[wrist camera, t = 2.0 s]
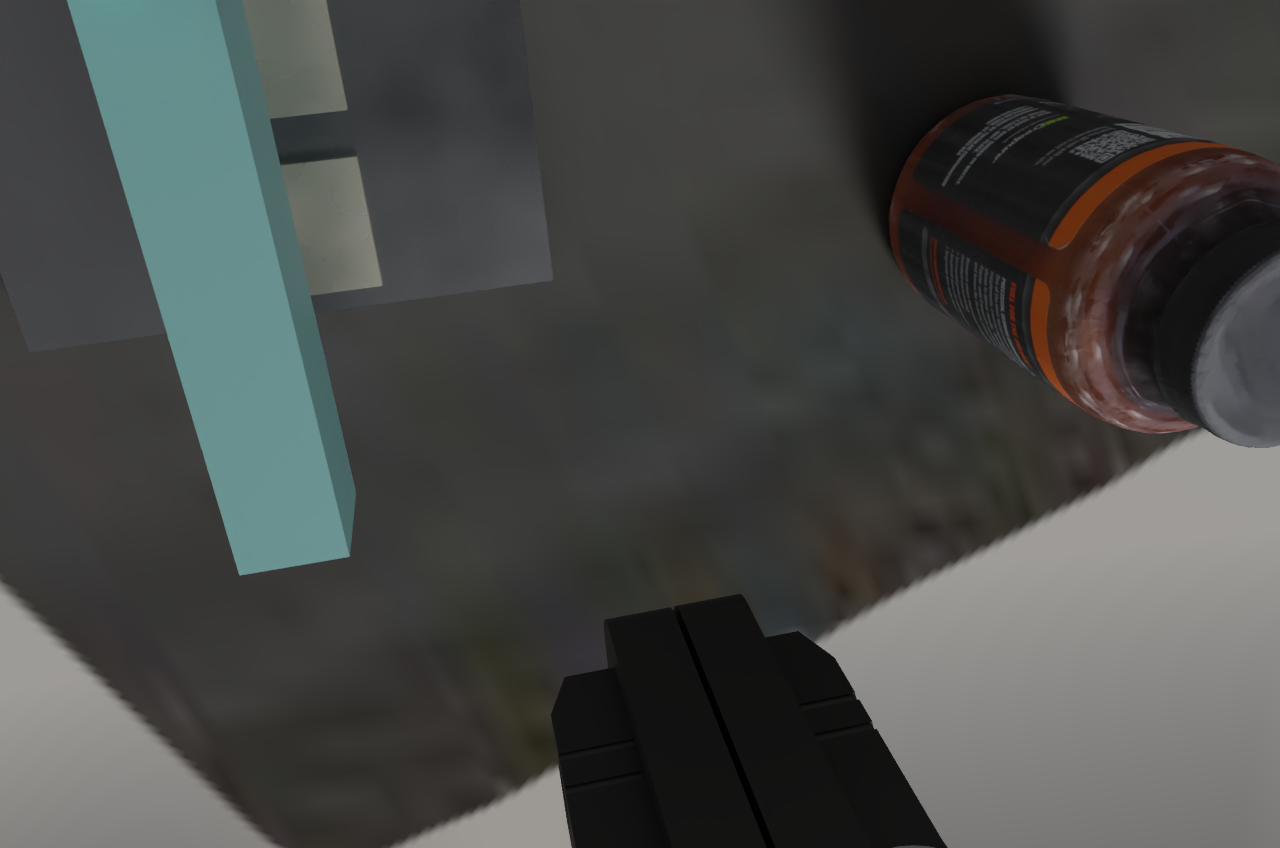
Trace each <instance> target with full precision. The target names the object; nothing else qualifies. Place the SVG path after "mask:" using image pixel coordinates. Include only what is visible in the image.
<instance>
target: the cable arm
mask: <svg viewBox="0 0 1280 848" xmlns="http://www.w3.org/2000/svg"><path fill="white" fill-rule="evenodd" d="M67 2H68V6H69V9H70V12H71V16H72V19H73V22H74V26H75V29H76V32H77V36H78V39H79V42H80V46H81V49H82V52H83V56H84V59H85V62H86V66H87V69H88V72H89V76H90V79H91V82H92V86H93V89H94V92H95V96H96V99H97V102H98V106H99V109H100V112H101V116H102V119H103V122H104V126H105V129H106V132H107V136H108V139H109V142H110V146H111V149H112V152H113V156H114V159H115V162H116V166H117V169H118V172H119V176H120V179H121V182H122V186H123V189H124V192H125V196H126V199H127V202H128V206H129V209H130V212H131V216H132V219H133V222H134V226H135V229H136V232H137V235H138V239H139V242H140V245H141V249H142V252H143V255H144V259H145V262H146V265H147V269H148V272H149V275H150V279H151V282H152V285H153V289H154V292H155V295H156V299H157V302H158V305H159V309H160V312H161V315H162V319H163V322H164V325H165V329H166V332H167V335H168V339H169V342H170V345H171V349H172V352H173V355H174V359H175V362H176V365H177V369H178V372H179V375H180V379H181V382H182V385H183V389H184V392H185V395H186V399H187V402H188V405H189V409H190V412H191V415H192V419H193V422H194V425H195V429H196V432H197V435H198V439H199V442H200V445H201V449H202V452H203V455H204V459H205V462H206V465H207V469H208V472H209V475H210V479H211V482H212V485H213V489H214V492H215V495H216V499H217V502H218V505H219V509H220V512H221V515H222V519H223V522H224V525H225V529H226V532H227V535H228V539H229V542H230V545H231V549H232V552H233V555H234V559H235V562H236V565H237V569H238V572H239V575H245V574H251V573H257V572H263V571H268V570H274V569H280V568H286V567H292V566H298V565H304V564H310V563H315V562H321V561H327V560H333V559H339V558H345V557H350V548H351V538H352V528H353V517H354V507H355V497H356V491H355V486H354V482H353V478H352V473H351V469H350V465H349V460H348V456H347V452H346V447H345V443H344V439H343V434H342V430H341V426H340V421H339V417H338V413H337V408H336V404H335V400H334V395H333V391H332V387H331V382H330V378H329V374H328V369H327V365H326V361H325V356H324V352H323V348H322V343H321V339H320V335H319V330H318V326H317V322H316V317H315V313H314V309H313V304H312V300H311V296H310V291H309V287H308V283H307V278H306V274H305V270H304V265H303V261H302V257H301V252H300V248H299V244H298V239H297V235H296V231H295V226H294V222H293V218H292V213H291V209H290V205H289V200H288V196H287V192H286V187H285V183H284V179H283V174H282V170H281V166H280V161H279V157H278V153H277V148H276V144H275V140H274V135H273V131H272V127H271V122H270V118H269V114H268V109H267V105H266V101H265V96H264V92H263V88H262V83H261V79H260V75H259V70H258V66H257V62H256V57H255V53H254V49H253V45H252V40H251V36H250V32H249V27H248V23H247V19H246V14H245V10H244V6H243V1H242V0H67Z"/></svg>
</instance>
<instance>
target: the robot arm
mask: <svg viewBox="0 0 1280 848" xmlns="http://www.w3.org/2000/svg"><path fill="white" fill-rule="evenodd" d="M604 635H605V644H606V652H607V661H608V669H604V670H599V671H594V672H588V673H583V674H578V675H573V676H568V677H565V678H564V681H563V683H562V686H561V689H560V691H559V694H558V697H557V700H556V702H555V705H554V708H553V711H552V713H551V718H552V725H553V731H554V738H555V744H556V751H557V758H558V764H559V771H560V778H561V784H562V791H563V797H564V803H565V811H566V817H567V824H568V829H569V834H570V840H571V845H572V848H947V846H946V845H945V843H944V842H943V841H942V839H941V838H940V836H939V834H938V832H937V831H936V829H935V827H934V825H933V824H932V822H931V820H930V819H929V817H928V816H927V814H926V812H925V810H924V808H923V807H922V805H921V804H920V802H919V800H918V799H917V797H916V795H915V793H914V792H913V790H912V788H911V787H910V785H909V783H908V781H907V780H906V778H905V776H904V775H903V773H902V771H901V770H900V768H899V766H898V765H897V763H896V761H895V759H894V758H893V756H892V754H891V753H890V751H889V749H888V747H887V746H886V744H885V742H884V741H883V739H882V737H881V736H880V734H879V732H878V731H877V729H875V730H874V728H873V725H872V720H871V719H870V717H869V715H868V714H867V712H866V710H865V709H864V707H863V705H862V704H861V702H860V700H857V699H856V696H855V692H854V690H853V688H852V686H851V685H850V683H849V681H848V680H847V678H846V676H845V675H844V673H843V672H842V670H841V668H840V666H839V665H838V663H837V661H836V659H835V658H834V657H833V656H831V655H830V654H829V653H827V652H826V651H825V650H823V649H822V648H821V647H819V646H818V645H816V644H815V643H814V642H812V641H811V640H810V639H808V638H807V637H805V636H804V635H803V634H801V633H800V632H799V631H797V632H792V633H787V634H781V635H776V636H771V637H766V638H765V637H764V635H763V633H762V631H761V629H760V627H759V625H758V623H757V621H756V619H755V617H754V615H753V613H752V611H751V609H750V607H749V605H748V603H747V602H746V600H745V598H744V597H743V596H742V595H741V594H737V595H732V596H726V597H721V598H716V599H710V600H705V601H700V602H694V603H689V604H684V605H678V606H675V607H674V610H672V609H671V608H664V609H659V610H653V611H648V612H643V613H637V614H632V615H627V616H622V617H616V618H611V619H606V620H604Z"/></svg>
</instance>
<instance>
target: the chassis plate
mask: <svg viewBox="0 0 1280 848" xmlns="http://www.w3.org/2000/svg"><path fill="white" fill-rule="evenodd" d="M242 1H243V6H244V10H245V14H246V19H247V23H248V27H249V32H250V36H251V40H252V45H253V49H254V53H255V57H256V62H257V66H258V70H259V75H260V79H261V83H262V88H263V92H264V96H265V101H266V105H267V109H268V114H269V118H270V122H271V127H272V131H273V135H274V140H275V144H276V148H277V153H278V157H279V161H280V166H281V170H282V174H283V179H284V183H285V187H286V192H287V196H288V200H289V205H290V209H291V213H292V218H293V222H294V226H295V231H296V235H297V239H298V244H299V248H300V252H301V257H302V261H303V265H304V270H305V274H306V278H307V283H308V287H309V291H310V296H311V300H312V304H313V309H314V313H320V312H327V311H335V310H342V309H349V308H356V307H364V306H371V305H378V304H385V303H393V302H400V301H407V300H414V299H421V298H429V297H436V296H443V295H450V294H458V293H465V292H472V291H479V290H487V289H494V288H501V287H508V286H516V285H523V284H530V283H537V282H545V281H552V280H553V273H552V265H551V256H550V248H549V240H548V232H547V224H546V215H545V207H544V199H543V191H542V182H541V174H540V166H539V158H538V149H537V141H536V133H535V125H534V116H533V108H532V100H531V92H530V83H529V75H528V67H527V59H526V50H525V42H524V34H523V26H522V17H521V9H520V1H519V0H242ZM0 274H1V276H2V279H3V282H4V285H5V287H6V290H7V293H8V296H9V298H10V301H11V304H12V306H13V309H14V312H15V315H16V317H17V320H18V323H19V326H20V328H21V331H22V334H23V336H24V339H25V342H26V345H27V347H28V350H29V353H30V352H38V351H45V350H52V349H59V348H67V347H74V346H81V345H88V344H96V343H103V342H110V341H117V340H125V339H132V338H139V337H146V336H154V335H161V334H167V332H166V329H165V325H164V322H163V319H162V315H161V312H160V309H159V305H158V302H157V299H156V295H155V292H154V289H153V285H152V282H151V279H150V275H149V272H148V269H147V265H146V262H145V259H144V255H143V252H142V249H141V245H140V242H139V239H138V235H137V232H136V229H135V226H134V222H133V219H132V216H131V212H130V209H129V206H128V202H127V199H126V196H125V192H124V189H123V186H122V182H121V179H120V176H119V172H118V169H117V166H116V162H115V159H114V156H113V152H112V149H111V146H110V142H109V139H108V136H107V132H106V129H105V126H104V122H103V119H102V116H101V112H100V109H99V106H98V102H97V99H96V96H95V92H94V89H93V86H92V82H91V79H90V76H89V72H88V69H87V66H86V62H85V59H84V56H83V52H82V49H81V46H80V42H79V39H78V36H77V32H76V29H75V26H74V22H73V19H72V16H71V12H70V9H69V6H68V2H67V0H0Z"/></svg>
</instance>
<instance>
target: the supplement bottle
mask: <svg viewBox="0 0 1280 848" xmlns="http://www.w3.org/2000/svg"><path fill="white" fill-rule="evenodd" d="M889 234H890V241H891V246H892V250H893V254H894V257H895V260H896V263H897V265H898V267H899V269H900V271H901V272H902V274H903V276H904V278H905V279H906V281H907V282H908V284H909V285H910V286H911V287H912V288H913V289H914V290H915V291H916V292H917V293H918V294H919V295H921V296H922V297H923V298H924V299H925V300H926V301H927V302H928V303H930V304H931V305H932V306H933V307H935V308H936V309H938V310H939V311H941V312H943V313H944V314H945V315H947V316H948V317H950V318H951V319H953V320H954V321H955V322H956V323H958V324H960V325H961V326H963V327H964V328H966V329H967V330H969V331H970V332H971V333H973V334H974V335H976V336H977V337H979V338H980V339H981V340H983V341H985V342H986V343H987V344H989V345H990V346H991V347H993V348H994V349H996V350H997V351H999V352H1000V353H1002V354H1003V355H1004V356H1005V357H1007V358H1008V359H1010V360H1011V361H1013V362H1014V363H1016V364H1017V365H1019V366H1021V367H1022V368H1024V369H1025V370H1026V371H1028V372H1029V373H1030V374H1032V375H1033V376H1034V377H1035V378H1037V379H1039V380H1041V381H1042V382H1043V383H1045V384H1047V385H1048V386H1049V387H1050V388H1051V389H1052V390H1053V391H1055V392H1057V393H1059V394H1060V395H1062V396H1063V397H1065V398H1066V399H1068V400H1069V401H1071V402H1073V403H1075V404H1076V405H1077V406H1079V407H1080V408H1082V409H1083V410H1085V411H1086V412H1088V413H1090V414H1092V415H1093V416H1095V417H1097V418H1099V419H1100V420H1103V421H1105V422H1107V423H1109V424H1112V425H1115V426H1118V427H1121V428H1124V429H1128V430H1133V431H1140V432H1144V433H1169V432H1177V431H1182V430H1187V429H1192V428H1195V427H1198V426H1200V427H1202V428H1204V429H1206V430H1208V431H1209V432H1211V433H1212V434H1213V435H1215V436H1217V437H1219V438H1221V439H1223V440H1225V441H1228V442H1230V443H1233V444H1236V445H1240V446H1245V447H1255V448H1269V447H1274V446H1278V445H1280V165H1277V164H1275V163H1273V162H1271V161H1269V160H1267V159H1265V158H1262V157H1260V156H1257V155H1255V154H1253V153H1250V152H1246V151H1243V150H1240V149H1236V148H1232V147H1228V146H1226V145H1223V144H1217V143H1215V142H1212V141H1208V140H1203V139H1198V138H1194V137H1190V136H1186V135H1182V134H1178V133H1175V132H1171V131H1167V130H1163V129H1159V128H1155V127H1151V126H1148V125H1145V124H1142V123H1138V122H1132V121H1128V120H1125V119H1121V118H1116V117H1113V116H1108V115H1105V114H1101V113H1097V112H1093V111H1089V110H1086V109H1082V108H1078V107H1074V106H1070V105H1066V104H1061V103H1058V102H1055V101H1051V100H1047V99H1043V98H1036V97H1027V96H1023V95H1013V94H1006V95H1000V96H995V97H989V98H985V99H982V100H978V101H974V102H971V103H970V104H968V105H966V106H964V107H961V108H959V109H957V110H956V111H954V112H953V113H951V114H949V115H948V116H946V117H945V118H944V119H942V120H941V121H940V122H939V123H937V125H936V126H934V127H933V128H932V129H931V130H929V131H928V132H927V134H926V135H925V136H924V137H923V138H922V139H921V140H920V141H919V143H918V144H917V146H916V147H915V148H914V150H913V151H912V153H911V154H910V156H909V157H908V159H907V161H906V163H905V164H904V167H903V169H902V171H901V173H900V175H899V178H898V180H897V183H896V186H895V189H894V192H893V195H892V200H891V206H890V210H889Z"/></svg>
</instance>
